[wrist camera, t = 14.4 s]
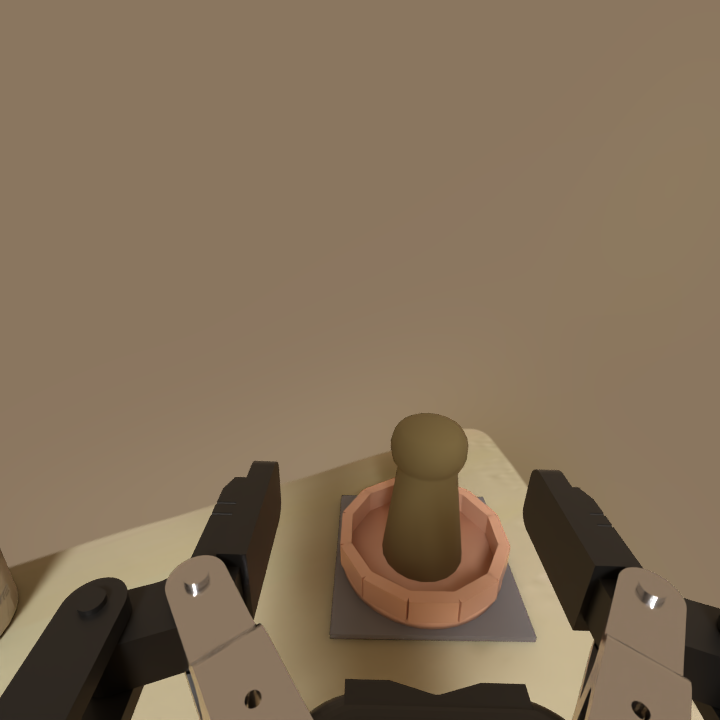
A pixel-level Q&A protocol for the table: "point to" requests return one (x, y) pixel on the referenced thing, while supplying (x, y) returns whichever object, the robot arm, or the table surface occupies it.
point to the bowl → (413, 598)
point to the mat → (364, 623)
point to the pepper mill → (425, 498)
